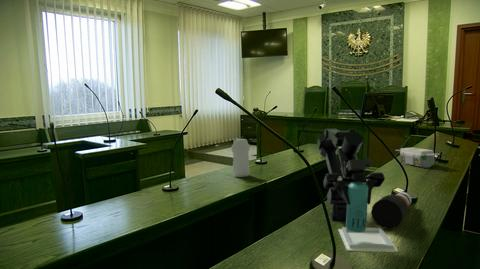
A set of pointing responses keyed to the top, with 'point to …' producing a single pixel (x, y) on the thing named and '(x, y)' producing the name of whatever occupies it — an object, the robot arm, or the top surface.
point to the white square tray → (367, 240)
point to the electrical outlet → (417, 157)
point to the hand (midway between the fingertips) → (359, 204)
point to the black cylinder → (391, 210)
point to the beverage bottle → (357, 204)
